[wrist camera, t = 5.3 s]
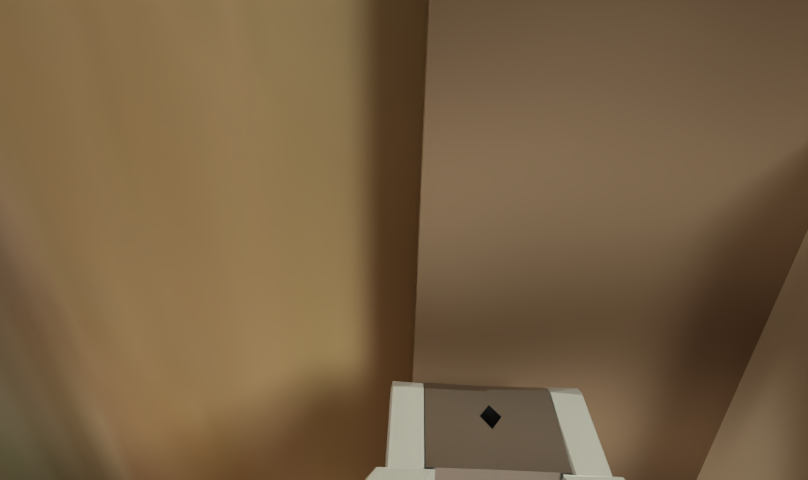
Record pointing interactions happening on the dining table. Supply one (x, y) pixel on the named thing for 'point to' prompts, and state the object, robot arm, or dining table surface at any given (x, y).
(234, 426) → the dining table surface
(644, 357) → the board
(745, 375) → the birch plate
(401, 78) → the dining table surface
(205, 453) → the dining table surface
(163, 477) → the dining table surface
